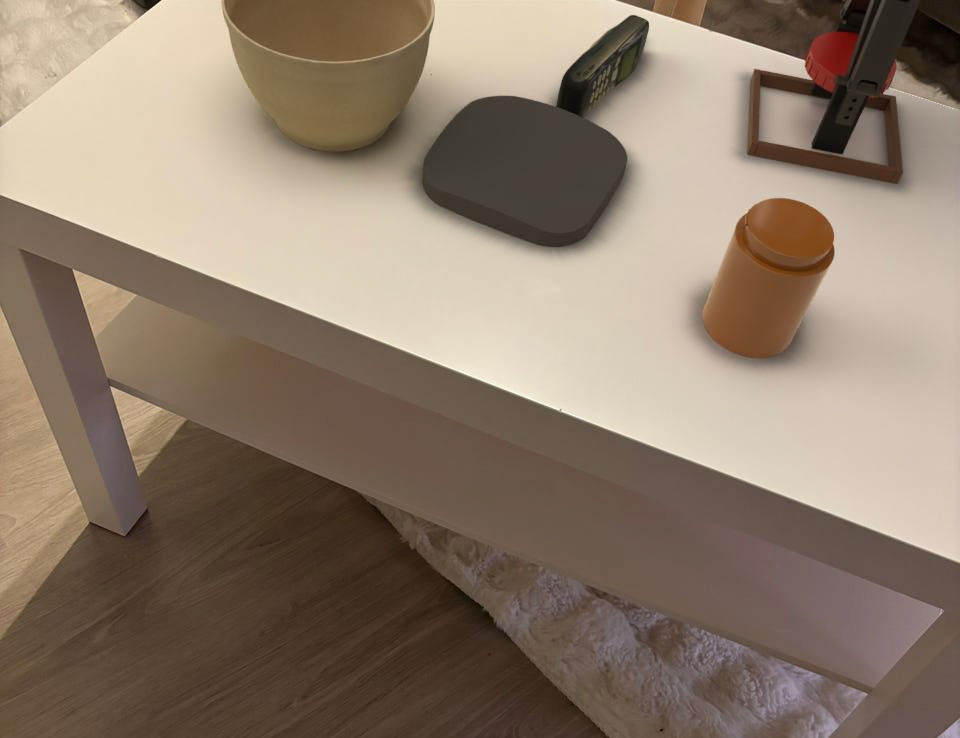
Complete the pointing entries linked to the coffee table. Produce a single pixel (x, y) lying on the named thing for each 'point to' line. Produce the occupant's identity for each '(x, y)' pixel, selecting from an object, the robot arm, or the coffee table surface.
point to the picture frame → (817, 158)
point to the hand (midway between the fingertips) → (826, 121)
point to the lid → (834, 59)
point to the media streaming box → (525, 169)
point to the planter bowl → (331, 64)
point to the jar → (768, 277)
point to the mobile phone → (603, 66)
